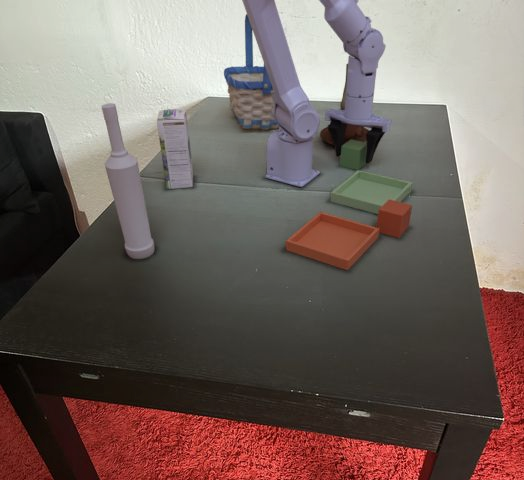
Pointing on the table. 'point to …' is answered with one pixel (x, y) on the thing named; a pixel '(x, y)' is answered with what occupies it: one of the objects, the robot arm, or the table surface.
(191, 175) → the syrup box
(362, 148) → the green block
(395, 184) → the green tray
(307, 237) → the clay tray
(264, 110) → the basket
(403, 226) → the clay block
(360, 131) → the cup and saucer
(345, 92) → the fennel bulb
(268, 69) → the robot arm
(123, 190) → the bottle
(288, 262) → the table surface
